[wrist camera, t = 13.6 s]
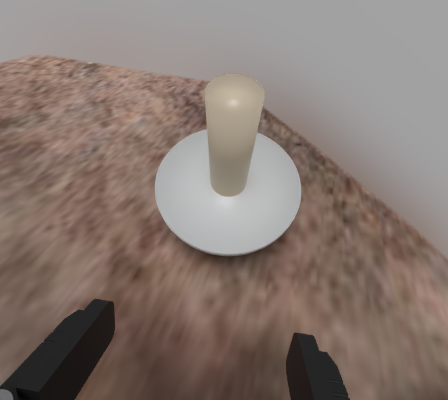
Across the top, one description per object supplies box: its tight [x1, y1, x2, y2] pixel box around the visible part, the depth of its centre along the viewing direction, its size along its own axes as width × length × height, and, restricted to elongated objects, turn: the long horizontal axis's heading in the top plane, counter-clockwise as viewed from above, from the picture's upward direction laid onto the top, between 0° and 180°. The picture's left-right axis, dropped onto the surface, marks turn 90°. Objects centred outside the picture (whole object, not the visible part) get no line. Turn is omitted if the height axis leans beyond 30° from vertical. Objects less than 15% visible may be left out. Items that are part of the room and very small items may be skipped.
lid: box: [155, 74, 301, 256], centre depth 16 cm, size 13×13×10 cm
